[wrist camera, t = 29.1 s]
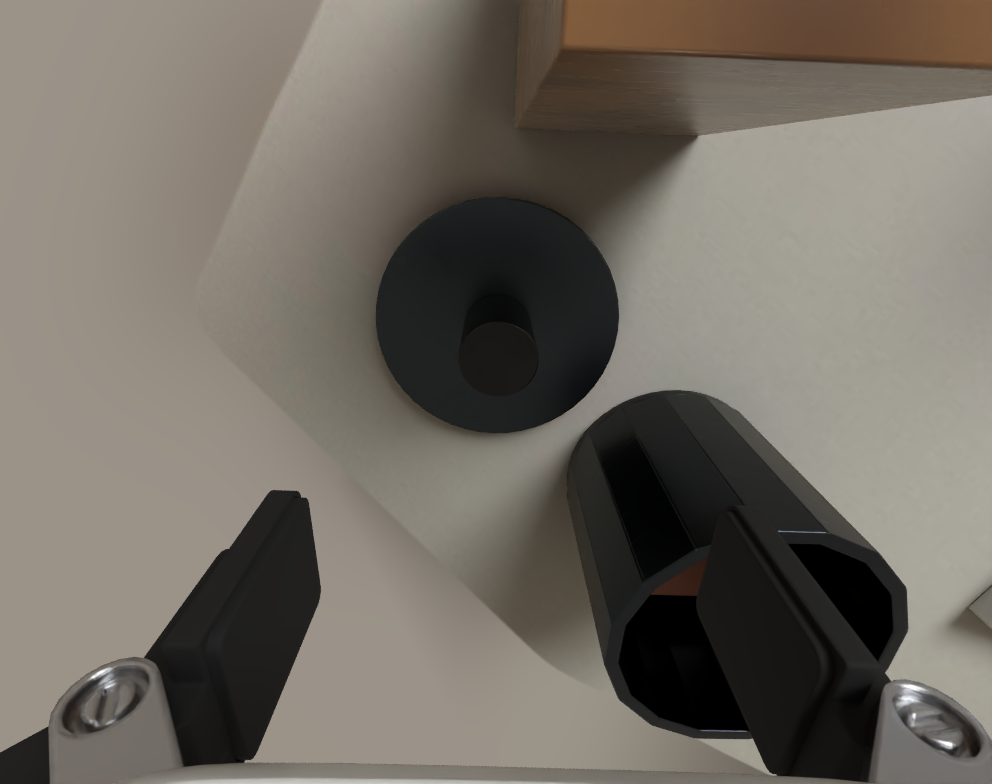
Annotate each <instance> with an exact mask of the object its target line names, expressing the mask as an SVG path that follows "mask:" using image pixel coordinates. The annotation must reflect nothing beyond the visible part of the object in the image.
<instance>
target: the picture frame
mask: <svg viewBox="0 0 992 784" xmlns="http://www.w3.org/2000/svg"><path fill="white" fill-rule="evenodd" d="M969 608H970V609H971V610H972V611H973V612H974V613H975V614H976V615H977V616H978V617H979V618H980V619H981V620H982V621H983V622H984V623H985V624H987V625H988V626H989V627H990V628H991V629H992V586H991V587H990V588H989V589H988V590H987V591H986V592H985V593H984V594H983V595H981V596H980V597H979V598H978V599H977V600H976V601H975V602H974V603H972V604H971V605H970V606H969Z"/></svg>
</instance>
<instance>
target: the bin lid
mask: <svg viewBox="0 0 992 784" xmlns="http://www.w3.org/2000/svg"><path fill="white" fill-rule="evenodd" d="M618 322H619V308H618V298H617V293H616V288H615V283H614V281H613V278H612V275H611V272H610V269H609V267H608V265H607V263H606V262H605V260H604V258H603V256H602V254H601V253H600V251H599V250H598V248H597V247H596V246H595V244H594V243H593V241H592V240H591V239H590V238H589V237H588V236H587V235H586V234H585V233H584V232H583V231H582V230H581V229H580V228H579V227H577V226H576V225H575V224H574V223H572V222H571V221H570V220H569V219H567V218H566V217H564V216H562V215H561V214H559V213H557V212H556V211H554V210H552V209H550V208H547V207H545V206H542V205H540V204H538V203H534V202H531V201H527V200H523V199H518V198H508V197H484V198H479V199H473V200H468V201H464V202H461V203H458V204H455V205H452V206H450V207H448V208H446V209H444V210H442V211H440V212H438V213H436V214H434V215H433V216H431V217H430V218H428V219H427V220H425V221H424V222H422V223H421V224H420V225H419V226H418V227H417V228H416V229H415V230H413V231H412V232H411V233H410V234H409V235H408V236H407V237H406V239H405V240H404V241H403V242H402V243H401V245H400V246H399V247H398V248H397V250H396V252H395V253H394V255H393V256H392V258H391V260H390V261H389V263H388V265H387V268H386V270H385V272H384V275H383V277H382V280H381V284H380V287H379V291H378V297H377V304H376V326H377V334H378V340H379V343H380V347H381V351H382V354H383V356H384V359H385V361H386V363H387V366H388V368H389V369H390V371H391V373H392V375H393V376H394V378H395V380H396V381H397V382H398V384H399V385H400V386H401V387H402V389H403V390H404V391H405V392H406V393H407V394H408V395H409V396H410V397H411V398H412V399H413V401H414V402H416V403H417V404H418V405H419V406H421V407H422V408H423V409H424V410H426V411H427V412H429V413H431V414H432V415H434V416H435V417H437V418H439V419H441V420H443V421H445V422H447V423H450V424H452V425H455V426H458V427H461V428H464V429H468V430H473V431H478V432H488V433H508V432H515V431H522V430H526V429H529V428H533V427H537V426H539V425H542V424H544V423H547V422H549V421H551V420H553V419H555V418H557V417H559V416H561V415H562V414H564V413H565V412H567V411H568V410H570V409H571V408H572V407H574V406H575V405H576V404H577V403H578V402H579V401H581V400H582V399H583V398H584V397H585V396H586V395H587V394H588V393H589V391H590V390H591V389H592V388H593V387H594V386H595V384H596V383H597V381H598V380H599V378H600V377H601V375H602V374H603V372H604V370H605V368H606V366H607V364H608V362H609V360H610V358H611V355H612V352H613V349H614V346H615V342H616V337H617V332H618Z"/></svg>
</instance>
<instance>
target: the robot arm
mask: <svg viewBox="0 0 992 784" xmlns="http://www.w3.org/2000/svg"><path fill="white" fill-rule="evenodd" d="M320 593H321V586H320V578H319V571H318V565H317V557H316V550H315V543H314V536H313V529H312V522H311V516H310V508H309V502H308V499H307V498H301V495H300V493H299V492H298V491H282V490H272V491H270V492H269V493H268V495H267V496H266V497H265V499H264V500H263V502H262V503H261V504H260V506H259V507H258V509H257V510H256V511H255V513H254V514H253V516H252V517H251V519H250V520H249V521H248V523H247V524H246V526H245V527H244V528H243V530H242V532H241V533H240V534H239V536H238V537H237V538H236V540H235V541H234V543H233V544H232V546H231V547H230V548H229V549H226V550H224V551H222V552H221V553H220V554H219V555H218V556H217V557H216V559H215V560H214V562H213V563H212V564H211V566H210V567H209V569H208V570H207V571H206V572H205V574H204V575H203V577H202V578H201V579H200V581H199V582H198V584H197V585H196V586H195V588H194V589H193V590H192V592H191V593H190V595H189V596H188V597H187V599H186V600H185V602H184V603H183V604H182V606H181V607H180V608H179V610H178V611H177V613H176V614H175V615H174V617H173V618H172V620H171V621H170V622H169V624H168V625H167V627H166V628H165V629H164V631H163V632H162V633H161V635H160V636H159V638H158V639H157V640H156V642H155V643H154V645H153V646H152V647H151V649H150V650H149V651H148V653H147V654H146V656H145V657H144V658H138V657H132V658H125V659H119V660H116V661H113V662H110V663H108V664H105V665H102V666H100V667H99V668H97V669H95V670H93V671H91V672H90V673H88V674H86V675H85V676H84V677H82V678H81V679H80V680H79V681H77V682H76V683H75V684H73V685H72V686H71V687H70V688H69V689H68V690H67V691H66V693H64V695H63V696H62V697H61V698H60V699H59V701H58V702H57V704H56V706H55V707H54V709H53V711H52V712H51V716H50V721H49V726H48V727H46V728H45V729H43V730H41V731H39V732H37V733H36V734H34V735H32V736H30V737H28V738H26V739H24V740H23V741H21V742H19V743H17V744H15V745H13V746H11V747H10V748H8V749H6V750H4V751H2V752H0V784H992V740H991V738H990V737H989V735H988V734H987V732H986V731H985V729H984V728H983V726H982V725H981V724H980V723H979V722H978V720H977V719H976V718H975V717H974V716H973V715H972V714H971V713H970V712H969V711H968V710H966V709H965V708H964V707H963V706H961V705H960V704H959V703H958V702H956V701H955V700H954V699H952V698H951V697H949V696H947V695H945V694H944V693H942V692H940V691H939V690H937V689H935V688H932V687H930V686H927V685H925V684H923V683H920V682H915V681H910V680H893V681H891V680H890V679H889V678H888V677H887V675H886V674H885V673H884V671H883V670H882V669H881V665H880V664H879V663H878V661H877V660H876V659H875V658H874V656H873V655H872V654H871V652H870V651H869V650H868V648H867V647H866V646H865V645H864V643H863V642H862V641H861V639H860V638H859V637H858V635H857V634H856V633H855V631H854V630H853V629H852V628H851V626H850V625H849V624H848V622H847V621H846V620H845V618H844V617H843V616H842V614H841V613H840V612H839V611H838V609H837V608H836V607H835V605H834V604H833V603H832V601H831V600H830V599H829V598H828V596H827V595H826V594H825V592H824V591H823V590H822V588H821V587H820V586H819V584H818V583H817V582H816V581H815V579H814V578H813V577H812V575H811V574H810V573H809V571H808V570H807V569H806V567H805V566H804V565H803V564H802V562H801V561H800V560H799V558H798V557H797V556H796V554H795V553H794V552H793V551H792V549H791V548H790V547H789V545H788V544H787V543H786V541H785V540H784V539H783V537H782V536H781V535H780V534H779V532H778V531H777V530H776V528H775V527H774V526H773V524H772V523H771V522H770V520H769V519H768V518H767V517H766V515H765V514H764V513H763V511H762V510H761V509H760V508H759V507H757V506H739V505H731V506H729V507H728V508H727V510H726V512H725V511H723V512H721V513H720V514H719V517H718V521H717V524H716V528H715V532H714V535H713V539H712V543H711V546H710V550H709V554H708V557H707V561H706V565H705V569H704V572H703V576H702V580H701V583H700V587H699V591H698V594H697V599H696V608H697V613H698V616H699V618H700V620H701V623H702V625H703V627H704V629H705V632H706V634H707V636H708V638H709V641H710V643H711V645H712V647H713V650H714V652H715V654H716V656H717V659H718V661H719V663H720V665H721V668H722V670H723V672H724V674H725V677H726V679H727V681H728V683H729V686H730V688H731V690H732V692H733V694H734V697H735V699H736V701H737V703H738V706H739V708H740V710H741V712H742V715H743V717H744V719H745V721H746V724H747V726H748V728H749V730H750V733H751V735H752V737H753V739H754V742H755V744H756V746H757V748H758V751H759V753H760V755H761V757H762V760H763V762H764V764H765V766H766V768H767V769H768V770H769V772H770V773H772V774H777V776H770V775H751V774H750V775H749V774H724V773H692V772H662V771H631V770H600V769H599V770H598V769H561V768H527V767H489V766H488V767H486V766H448V765H447V766H445V765H401V764H399V765H398V764H353V763H244V761H245V760H251V759H253V758H254V756H255V755H256V753H257V751H258V748H259V746H260V744H261V741H262V739H263V737H264V734H265V732H266V729H267V727H268V725H269V722H270V720H271V717H272V715H273V712H274V710H275V707H276V705H277V702H278V700H279V698H280V695H281V693H282V690H283V688H284V686H285V683H286V681H287V678H288V676H289V674H290V671H291V669H292V666H293V664H294V661H295V659H296V657H297V654H298V652H299V649H300V647H301V644H302V642H303V640H304V637H305V635H306V632H307V630H308V627H309V625H310V622H311V620H312V618H313V615H314V613H315V610H316V608H317V606H318V603H319V599H320Z"/></svg>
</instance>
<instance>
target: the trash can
mask: <svg viewBox="0 0 992 784" xmlns="http://www.w3.org/2000/svg"><path fill="white" fill-rule="evenodd" d="M567 500H568V504H569V509H570V513H571V518H572V522H573V527H574V531H575V536H576V540H577V545H578V549H579V554H580V558H581V563H582V567H583V572H584V576H585V581H586V585H587V589H588V594H589V598H590V603H591V607H592V612H593V616H594V621H595V625H596V630H597V634H598V639H599V643H600V648H601V652H602V657H603V661H604V665H605V668H606V670H607V673H608V675H609V678H610V680H611V682H612V685H613V687H614V690H615V692H616V694H617V697H618V699H619V700H620V701H621V702H622V703H624V704H625V705H626V706H628V707H629V708H630V709H631V710H633V711H634V712H635V713H637V714H638V715H639V716H640V717H642V718H643V719H644V720H645V721H647V722H648V723H649V724H651V725H652V726H656V727H659V728H662V729H666V730H669V731H672V732H676V733H679V734H682V735H685V736H689V737H692V738H704V739H751V738H753V737H752V735H751V733H750V730H749V728H748V726H747V724H746V721H745V719H744V717H743V715H742V712H741V710H740V708H739V706H738V703H737V701H736V699H735V697H734V694H733V692H732V690H731V688H730V686H729V683H728V681H727V679H726V677H725V674H724V672H723V670H722V668H721V665H720V663H719V661H718V659H717V656H716V654H715V652H714V650H713V647H712V645H711V643H710V641H709V638H708V636H707V634H706V632H705V629H704V627H703V625H702V623H701V620H700V618H699V616H698V613H697V608H696V599H697V596H681V595H651V593H652V592H653V591H654V589H656V588H657V587H659V586H660V585H662V584H664V583H665V582H667V581H668V580H670V579H672V578H673V577H675V576H677V575H678V574H680V573H681V572H683V571H685V570H686V569H688V568H689V567H691V566H693V565H694V564H696V563H697V562H699V561H701V560H702V559H705V558H707V557H708V554H709V550H710V546H711V543H712V539H713V535H714V532H715V528H716V524H717V521H718V517H719V514H720V513H721V512H723V511H725V512H726V510H727V508H728V507H729V506H731V505H739V506H757V507H759V508H760V509H761V510H762V511H763V513H764V514H765V515H766V517H767V518H768V519H769V520H770V522H771V523H772V524H773V526H774V527H775V528H776V530H777V531H778V532H779V534H780V535H781V536H782V537H783V539H784V540H785V541H786V543H787V544H788V545H789V547H790V548H791V549H792V551H793V552H794V553H795V554H796V556H797V557H798V558H799V560H800V561H801V562H802V564H803V565H804V566H805V567H806V569H807V570H808V571H809V573H810V574H811V575H812V577H813V578H814V579H815V581H816V582H817V583H818V584H819V586H820V587H821V588H822V590H823V591H824V592H825V594H826V595H827V596H828V598H829V599H830V600H831V601H832V603H833V604H834V605H835V607H836V608H837V609H838V611H839V612H840V613H841V614H842V616H843V617H844V618H845V620H846V621H847V622H848V624H849V625H850V626H851V628H852V629H853V630H854V631H855V633H856V634H857V635H858V637H859V638H860V639H861V641H862V642H863V643H864V645H865V646H866V647H867V648H868V650H869V651H870V652H871V654H872V655H873V656H874V658H875V659H876V660H877V661H878V663H879V664H880V665H881V669H882V670H883V671H884V673H885V672H886V670H887V669H888V668H889V666H890V664H891V662H892V660H893V658H894V656H895V654H896V653H897V651H898V649H899V647H900V645H901V643H902V641H903V639H904V638H905V636H906V634H907V632H908V608H907V589H906V586H905V585H904V584H903V583H902V581H901V580H900V579H899V578H898V576H897V575H896V574H895V573H894V571H893V570H892V569H891V567H890V566H889V565H888V564H887V562H886V561H885V560H884V559H883V557H882V556H881V555H880V553H879V552H878V551H877V550H876V549H875V548H874V547H873V546H872V545H871V544H870V543H869V542H868V541H867V540H866V539H865V538H864V537H863V536H862V535H861V534H860V533H859V532H858V531H857V530H856V529H855V528H854V527H853V526H852V525H851V524H850V523H849V522H848V521H847V520H846V519H845V518H844V517H843V516H842V515H841V514H840V513H839V512H838V511H837V510H836V509H835V508H834V507H833V506H832V505H831V504H830V503H829V502H828V501H827V500H826V499H825V498H824V497H823V496H822V495H821V494H820V493H819V492H818V491H817V490H816V489H815V488H814V487H813V486H812V485H811V484H810V483H809V482H808V481H807V480H806V479H805V478H804V477H803V476H802V475H801V474H800V473H799V472H798V471H797V470H796V469H795V468H794V467H793V466H792V465H791V464H790V463H789V462H788V461H787V460H786V459H785V458H784V457H783V456H782V455H781V454H780V453H779V452H778V451H777V450H776V449H775V448H774V447H773V446H772V445H771V444H770V443H769V442H768V441H767V440H766V439H765V438H764V437H763V436H762V435H761V434H760V433H759V432H758V431H757V430H756V429H755V428H754V427H753V426H752V425H751V424H750V423H749V422H748V421H747V420H746V419H745V418H744V417H743V416H742V415H741V414H740V412H739V411H737V410H735V409H733V408H731V407H730V406H729V405H727V404H726V403H724V402H722V401H720V400H718V399H716V398H714V397H711V396H708V395H705V394H701V393H697V392H692V391H681V390H672V391H660V392H653V393H649V394H645V395H641V396H638V397H635V398H633V399H630V400H628V401H625V402H623V403H622V404H620V405H618V406H616V407H614V408H613V409H611V410H610V411H608V412H607V413H605V414H604V415H602V416H601V417H600V418H599V419H598V420H597V421H595V422H594V423H593V424H592V425H591V427H590V428H589V429H588V430H587V431H586V432H585V433H584V435H583V436H582V438H581V439H580V440H579V442H578V444H577V446H576V447H575V449H574V451H573V453H572V456H571V459H570V462H569V466H568V471H567Z"/></svg>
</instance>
